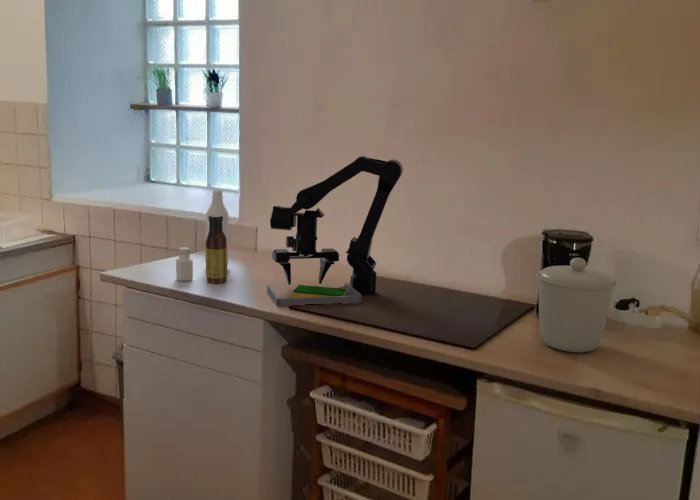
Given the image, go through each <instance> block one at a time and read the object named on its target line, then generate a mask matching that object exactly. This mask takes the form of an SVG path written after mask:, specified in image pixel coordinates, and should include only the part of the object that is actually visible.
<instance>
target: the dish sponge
mask: <svg viewBox="0 0 700 500" xmlns="http://www.w3.org/2000/svg"><path fill="white" fill-rule="evenodd" d="M327 296H347V291H346V289H344V288H340V287H329V286H318V285H317V286H316V285H305V284H298V285H297V286H296V287H295V288H294V289H293V291H292V298H300V297H327Z"/></svg>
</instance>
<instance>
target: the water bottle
mask: <svg viewBox="0 0 700 500" xmlns="http://www.w3.org/2000/svg"><path fill="white" fill-rule="evenodd" d="M211 199H212V200H211V203H210V205H209V207H208V209H207V211H206V214H205V238H206V239H205V241H206V240H207V236H208V233H209V215H215V214H218V215H222V216H223V220H222V228H223V230H222V231H223V233H224V234H225V236H226V240H227V242H228V241H229V235H230V234H229V218H230V216H229V212H228V209H227V208H226V206H225V204H224V200H223V199H224V197H223V190H222V189H220V190H219V189H213V190H212V195H211ZM204 259H205V260H204V261H206V256H205V258H204ZM228 265H229V252H228V251H227V266H228Z"/></svg>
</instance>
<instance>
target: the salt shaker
mask: <svg viewBox="0 0 700 500" xmlns="http://www.w3.org/2000/svg"><path fill="white" fill-rule="evenodd" d="M190 255H191V249H190V247H183V246H182V247H179V248H178V258H177V259H176V260H175V264H176V265H175V269H176V270H175V277H176V279H177V280H178V281H179V282H189V281H193V278H194V277H193V275H194V273H193V271H194V269H193V268H194V266H193V265H194V263H193V259H192V258H190Z"/></svg>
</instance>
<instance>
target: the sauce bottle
mask: <svg viewBox="0 0 700 500" xmlns="http://www.w3.org/2000/svg"><path fill="white" fill-rule="evenodd" d="M222 220H223V216H222V215H218V214H215V215H209V233H208V236H207V240H206V239H205V243H204V244H205V247H204V249H205V257H206V260H205V276H206V281H207V282H208V283H212V284H223V283H225V282H227V280H228V265H227V252H228V241H227V240H226V236H225V234H224V233H223V231H222V230H223V228H222Z"/></svg>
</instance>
